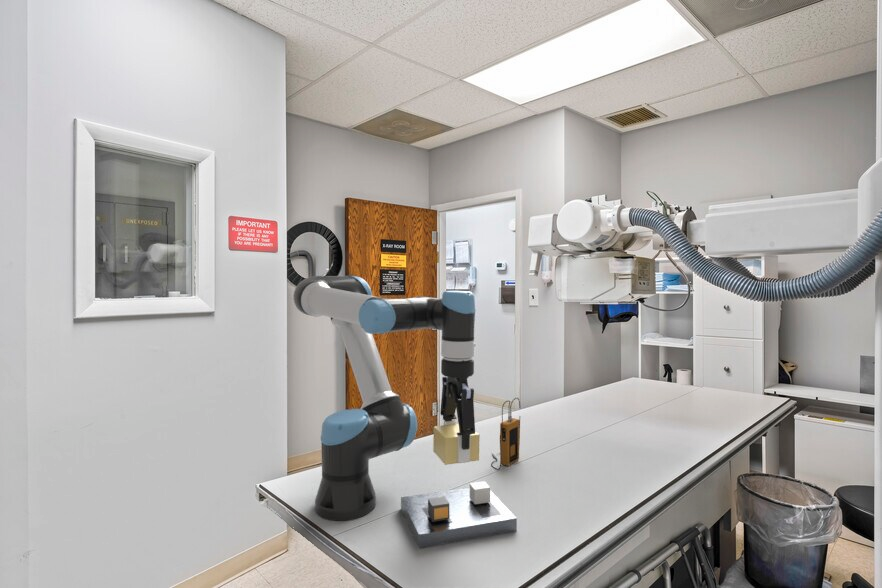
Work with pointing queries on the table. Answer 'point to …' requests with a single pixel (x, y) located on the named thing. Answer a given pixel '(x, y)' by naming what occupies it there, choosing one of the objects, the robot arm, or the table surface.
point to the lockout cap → (452, 444)
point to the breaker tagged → (438, 509)
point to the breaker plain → (479, 492)
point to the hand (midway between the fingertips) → (456, 454)
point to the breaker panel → (456, 518)
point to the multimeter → (509, 439)
